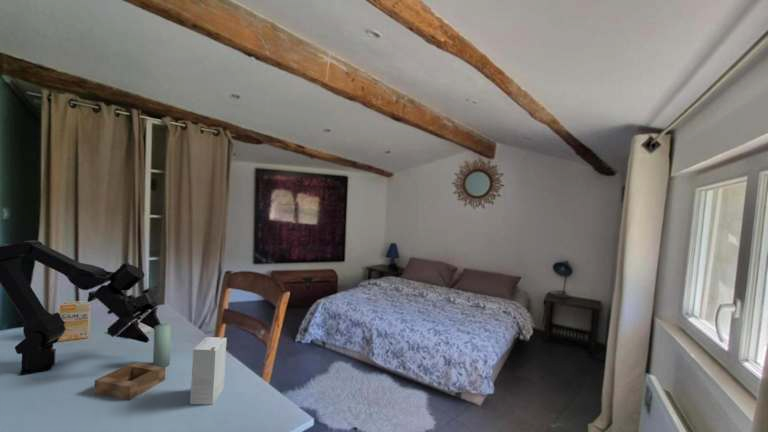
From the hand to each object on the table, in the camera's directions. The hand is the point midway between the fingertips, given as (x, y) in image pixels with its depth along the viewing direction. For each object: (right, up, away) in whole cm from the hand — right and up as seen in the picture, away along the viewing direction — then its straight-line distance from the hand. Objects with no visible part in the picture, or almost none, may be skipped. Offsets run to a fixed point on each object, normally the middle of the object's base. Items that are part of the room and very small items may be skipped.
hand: (155, 335), depth 109 cm
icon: (-25, -8, +26) cm, 37 cm away
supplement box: (-41, -7, +17) cm, 45 cm away
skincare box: (+24, -11, -15) cm, 31 cm away
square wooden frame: (+1, -10, -12) cm, 16 cm away
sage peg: (+1, -10, +1) cm, 10 cm away
